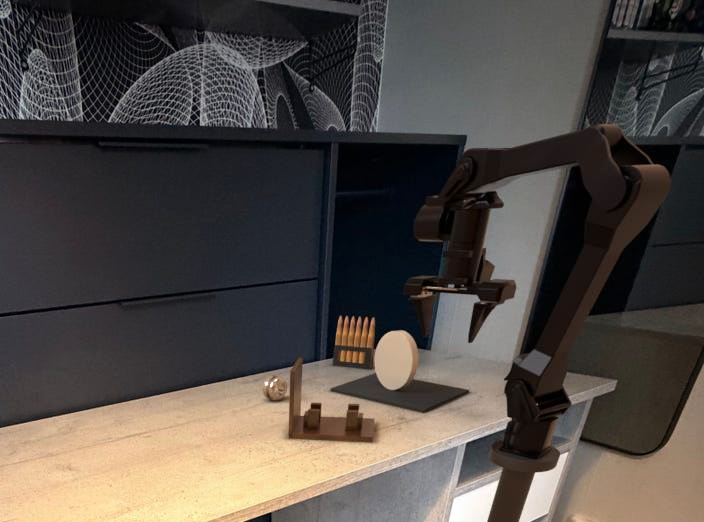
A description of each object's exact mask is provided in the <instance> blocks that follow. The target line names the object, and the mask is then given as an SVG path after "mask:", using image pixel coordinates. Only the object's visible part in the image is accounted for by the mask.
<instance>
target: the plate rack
mask: <svg viewBox="0 0 704 522" xmlns="http://www.w3.org/2000/svg"><path fill="white" fill-rule="evenodd" d="M303 362H304V361H303V357H298V358H297V360H296V361H295V363H294V364H293V365H292V368H291V369H290V371H289V396H288V397H289V400H288V401H289V402H288V405H289V406H288V436H287V437H288V439H294V440H296V439H297V440H298V439H299V440H315V441H317V440H318V441H319V440H320V441H337V442H338V441H339V442H357V443H359V442H360V443H373V440H374V431H375V419H376V418H371V417H370V418H369V417H364V412H360V403H348V404H347V410H346V416H345V417H344V416H343V417H341V416H322V406H323V405H322V404H323V403H322V402H310V406H309V408H308V409H307V410H305V412H304V414H303V415H301V413H302V411H301V410H302V389H303V387H302V386H303V384H302V383H303Z"/></svg>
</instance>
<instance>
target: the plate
mask: <svg viewBox="0 0 704 522" xmlns="http://www.w3.org/2000/svg"><path fill="white" fill-rule="evenodd" d="M418 367H419V352H418V346H417V343H416V341H415V339H414V337H413V336H412V335H411V334H410V333H409V332H407V331H406V330H402V329H398V330H391V331H389V332H387V333H385V334H384V335H383V336H382V337H381V339H380V340H379V341H378V344H377V346H376V348H375V351H374V370H375V373H376V374H377V377H378V379H379V381H380V383H381V384H382V385H383V386H384V387H385V388H387V389H390V390H397V389H401V388H404V387H406V386H407V385H408V384H409V383H410V382H411V381H412V380H413V379H414V378H415V376H416V373H417V371H418Z"/></svg>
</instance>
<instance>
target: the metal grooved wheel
mask: <svg viewBox="0 0 704 522" xmlns="http://www.w3.org/2000/svg"><path fill="white" fill-rule="evenodd" d="M287 392H288V383H287V381H286V379H285V378H284V377H282V376H278V375H274V374H273V375H269V376H268V377H266V379H265V380H264V382H263V385H262V393H263V395H264V397H265V399H269V400H272V401H275V402H278V401H281V400H283V399H284V397H285V396H286V394H287Z"/></svg>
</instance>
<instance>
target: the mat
mask: <svg viewBox="0 0 704 522" xmlns="http://www.w3.org/2000/svg"><path fill="white" fill-rule="evenodd" d="M330 392H333V393H338V394H343V395H346V396H351V397H354V398H358V399H364V400H367V401H372V402H376V403H381V404H385V405H388V406H389V405H390V406H392V407H393V406H394V407H398V408H402V409H406V410H410V411H415V412H418V413H423V414H424V413H426V412H428V411H430V410H432V409H435V408H437V407H439V406H440V407H441V406H442V405H444V404H446V403H449V402H450V401H453V400H456V399H457V398H460V397H462V396H465V395H467V394H468V393H470V389H467V388H462V387H456V386H452V385H446V384H441V383H435V382H430V381H425V380H419V379H414V378H413V380H412V381H411V382H410V383H409V384H408V385H407V386H406V387H404V388H401V389H397V390H390V389H387V388H385V387H384V386H383V385H382V384H381V383H380V381H379V379H378V377H377V374H376V372H375V373H371V374H369V375H368V374H367V375H366V376H362V377H360V378H356V379H354V380H352V381H349V382H345V383H341V384H340V385H337V386H334V387H330Z"/></svg>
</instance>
